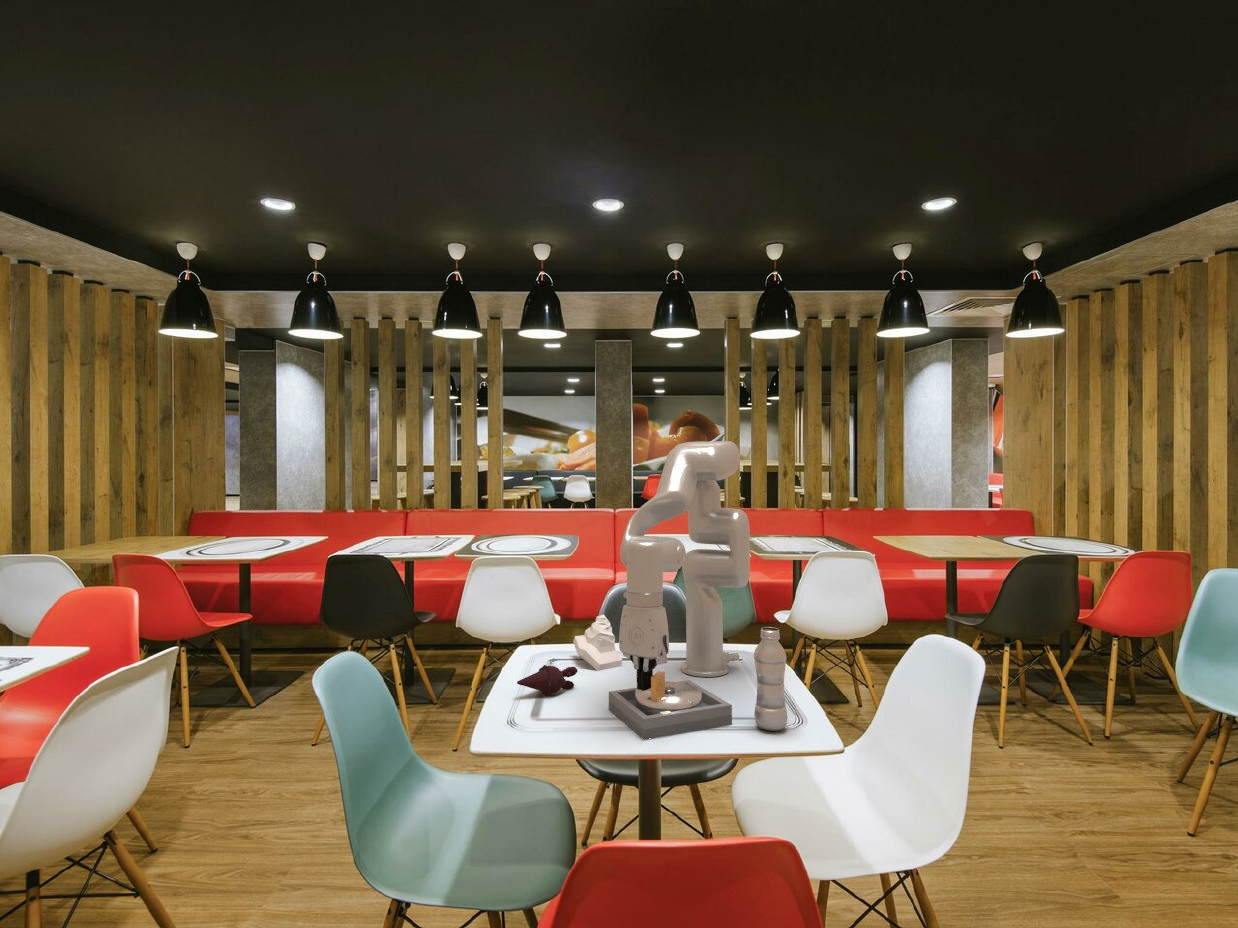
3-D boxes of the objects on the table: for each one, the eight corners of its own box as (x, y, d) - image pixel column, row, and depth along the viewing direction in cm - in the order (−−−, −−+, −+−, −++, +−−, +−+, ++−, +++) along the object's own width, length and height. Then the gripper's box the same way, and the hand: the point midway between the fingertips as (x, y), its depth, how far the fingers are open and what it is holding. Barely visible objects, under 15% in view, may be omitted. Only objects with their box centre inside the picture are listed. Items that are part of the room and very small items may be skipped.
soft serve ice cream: (613, 659, 191) (626, 612, 190) (620, 680, 176) (634, 628, 175) (570, 650, 189) (583, 602, 188) (574, 670, 174) (588, 618, 173)
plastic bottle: (769, 737, 130) (768, 634, 130) (747, 725, 136) (746, 627, 136) (794, 731, 133) (793, 630, 133) (772, 720, 139) (771, 624, 139)
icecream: (525, 676, 149) (585, 672, 156) (514, 660, 155) (572, 657, 163) (520, 704, 150) (579, 699, 158) (509, 687, 156) (566, 683, 164)
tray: (689, 697, 153) (689, 678, 153) (732, 724, 137) (731, 703, 137) (608, 709, 146) (608, 689, 146) (643, 739, 129) (643, 717, 129)
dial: (653, 691, 151) (653, 655, 151) (711, 701, 144) (711, 664, 144) (623, 710, 138) (623, 672, 139) (685, 722, 132) (685, 681, 132)
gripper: (605, 598, 140) (605, 686, 140) (663, 606, 131) (663, 700, 131) (627, 593, 146) (627, 678, 146) (684, 601, 137) (684, 691, 136)
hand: (644, 688), depth 138 cm, fingers closed
